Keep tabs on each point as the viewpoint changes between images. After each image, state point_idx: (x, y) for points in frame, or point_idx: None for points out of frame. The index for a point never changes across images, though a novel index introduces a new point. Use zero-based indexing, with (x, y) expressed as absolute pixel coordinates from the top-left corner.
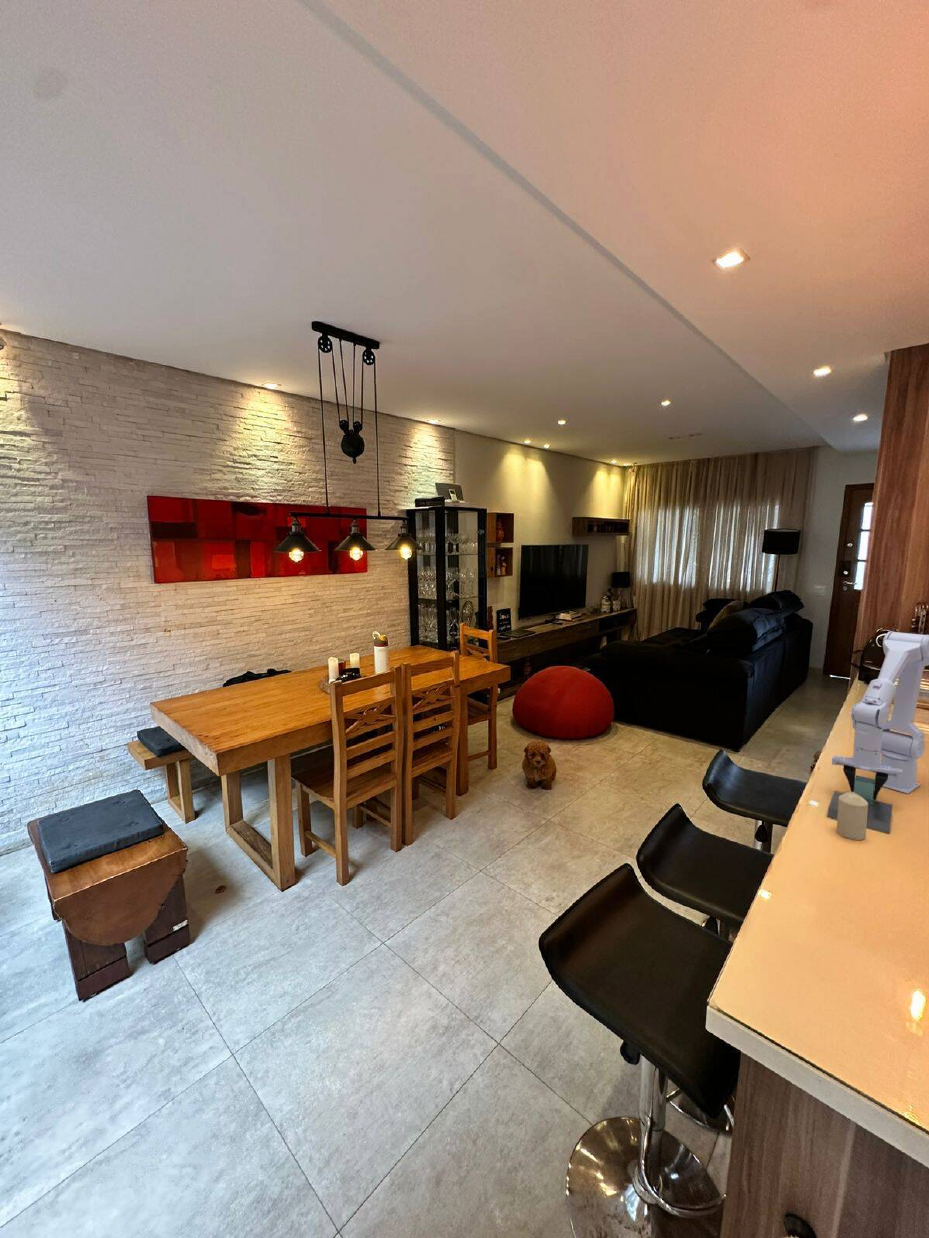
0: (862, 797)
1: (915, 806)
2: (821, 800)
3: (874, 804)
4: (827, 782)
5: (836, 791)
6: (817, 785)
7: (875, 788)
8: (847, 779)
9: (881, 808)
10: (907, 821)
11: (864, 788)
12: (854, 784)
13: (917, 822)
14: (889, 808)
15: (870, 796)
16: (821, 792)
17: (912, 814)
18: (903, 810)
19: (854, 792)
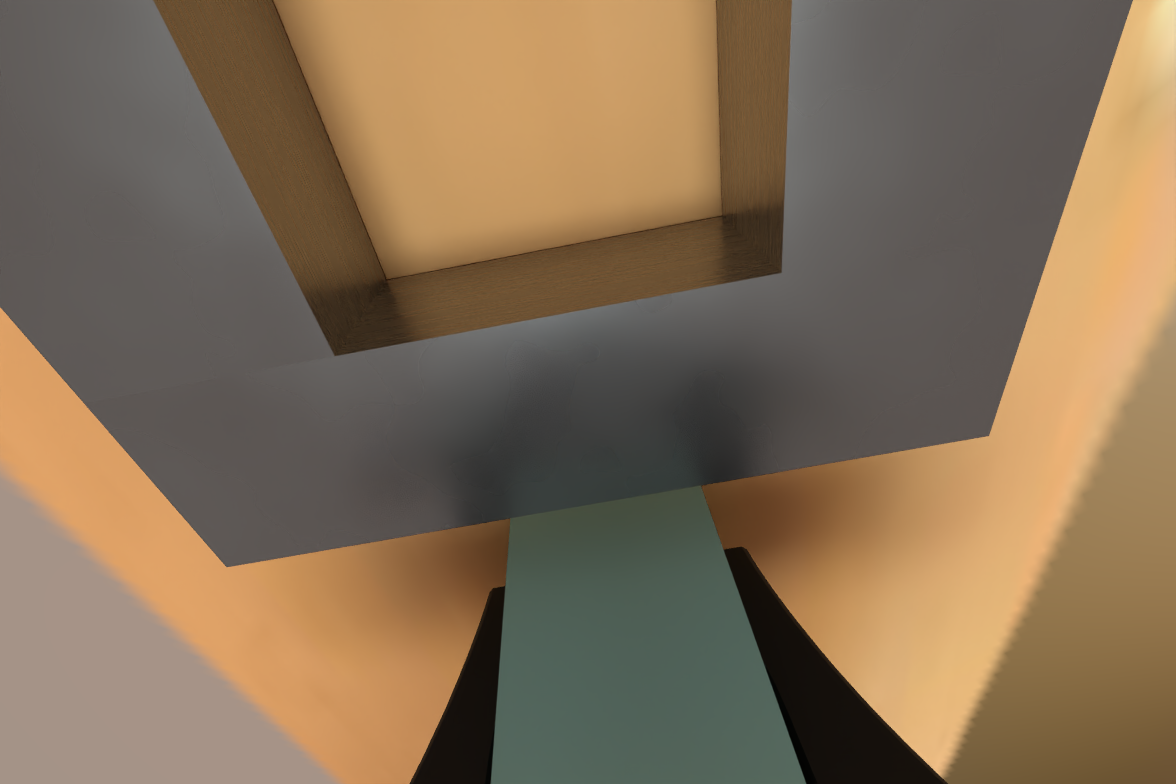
0: (616, 544)
1: (287, 706)
2: (1072, 190)
3: (367, 390)
4: (926, 651)
5: (958, 437)
6: (1027, 556)
7: (474, 763)
8: (924, 761)
9: (197, 311)
10: (67, 400)
11: (618, 688)
12: (775, 699)
13: (10, 455)
14: (142, 418)
15: (531, 594)
16: (1018, 440)
17: (189, 583)
18: (286, 601)
19: (721, 567)
